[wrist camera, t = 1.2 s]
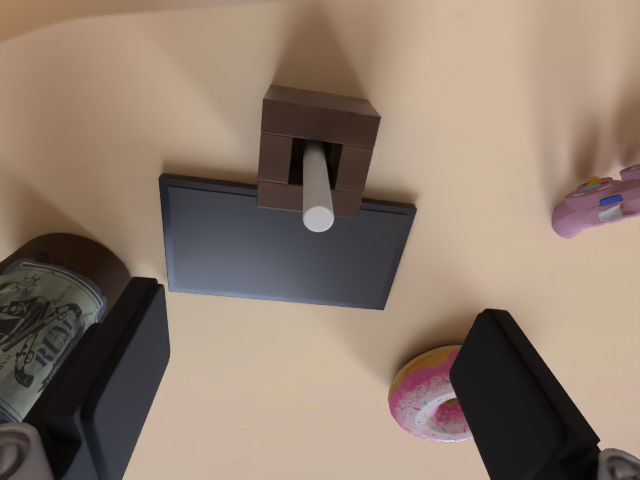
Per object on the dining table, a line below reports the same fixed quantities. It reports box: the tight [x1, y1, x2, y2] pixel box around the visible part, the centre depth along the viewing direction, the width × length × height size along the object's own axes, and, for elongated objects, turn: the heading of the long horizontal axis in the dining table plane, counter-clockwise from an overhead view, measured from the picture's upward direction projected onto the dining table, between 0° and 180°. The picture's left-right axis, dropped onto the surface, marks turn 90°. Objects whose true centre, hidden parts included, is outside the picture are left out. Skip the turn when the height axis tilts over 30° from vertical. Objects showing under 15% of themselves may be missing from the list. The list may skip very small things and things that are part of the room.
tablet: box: [159, 173, 417, 310], centre depth 30 cm, size 11×20×1 cm, turn 81°
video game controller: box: [552, 164, 640, 238], centre depth 26 cm, size 10×5×7 cm, turn 114°
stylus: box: [303, 139, 334, 232], centre depth 21 cm, size 1×1×12 cm
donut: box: [388, 345, 473, 442], centre depth 39 cm, size 14×13×5 cm
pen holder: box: [256, 85, 381, 219], centre depth 24 cm, size 7×7×5 cm
